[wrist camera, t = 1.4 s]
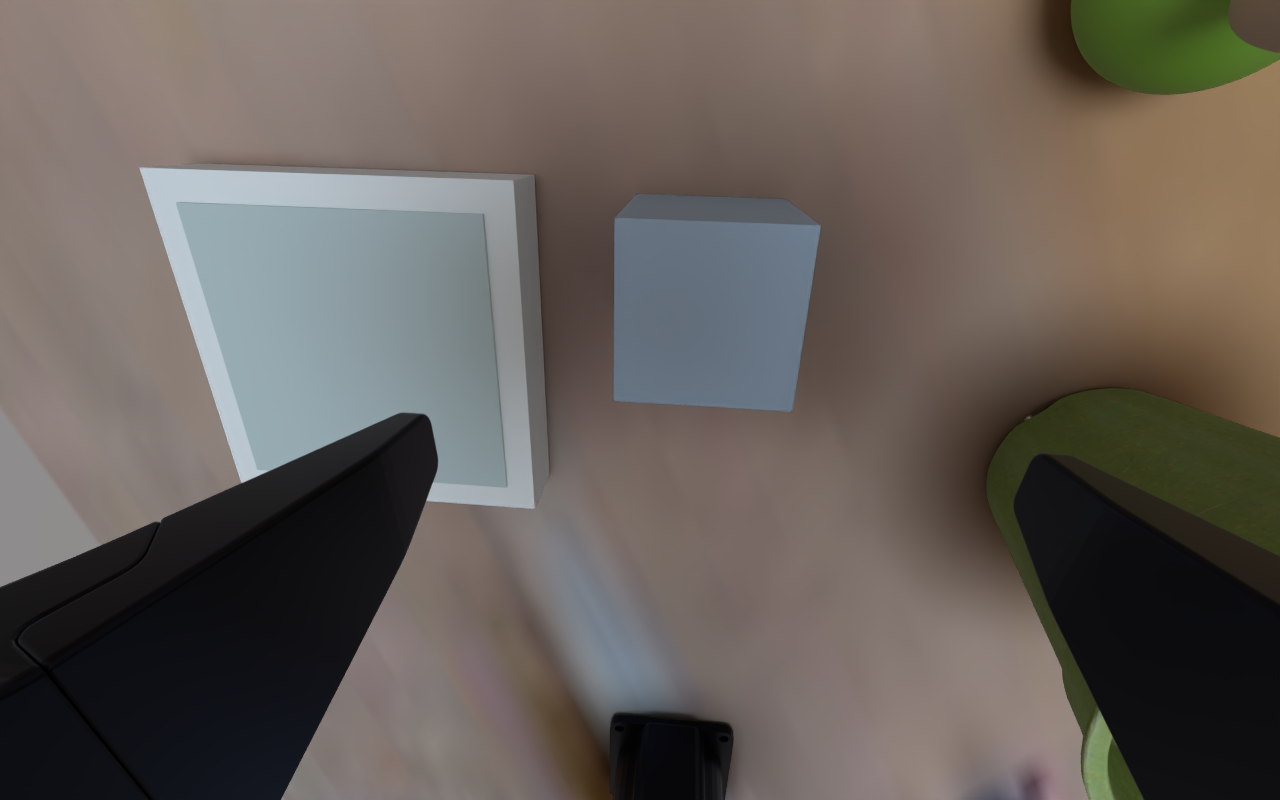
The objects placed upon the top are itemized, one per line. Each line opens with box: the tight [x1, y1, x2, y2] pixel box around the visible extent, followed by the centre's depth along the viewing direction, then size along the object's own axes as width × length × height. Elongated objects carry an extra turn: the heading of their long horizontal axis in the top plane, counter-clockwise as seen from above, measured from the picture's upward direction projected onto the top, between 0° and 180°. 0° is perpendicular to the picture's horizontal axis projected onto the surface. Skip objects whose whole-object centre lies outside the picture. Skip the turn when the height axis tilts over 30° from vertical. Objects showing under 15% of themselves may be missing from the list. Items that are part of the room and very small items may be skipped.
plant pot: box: [986, 388, 1280, 800], centre depth 17 cm, size 12×12×11 cm
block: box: [614, 194, 821, 412], centre depth 18 cm, size 5×5×6 cm
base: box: [140, 163, 549, 509], centre depth 21 cm, size 12×12×3 cm
